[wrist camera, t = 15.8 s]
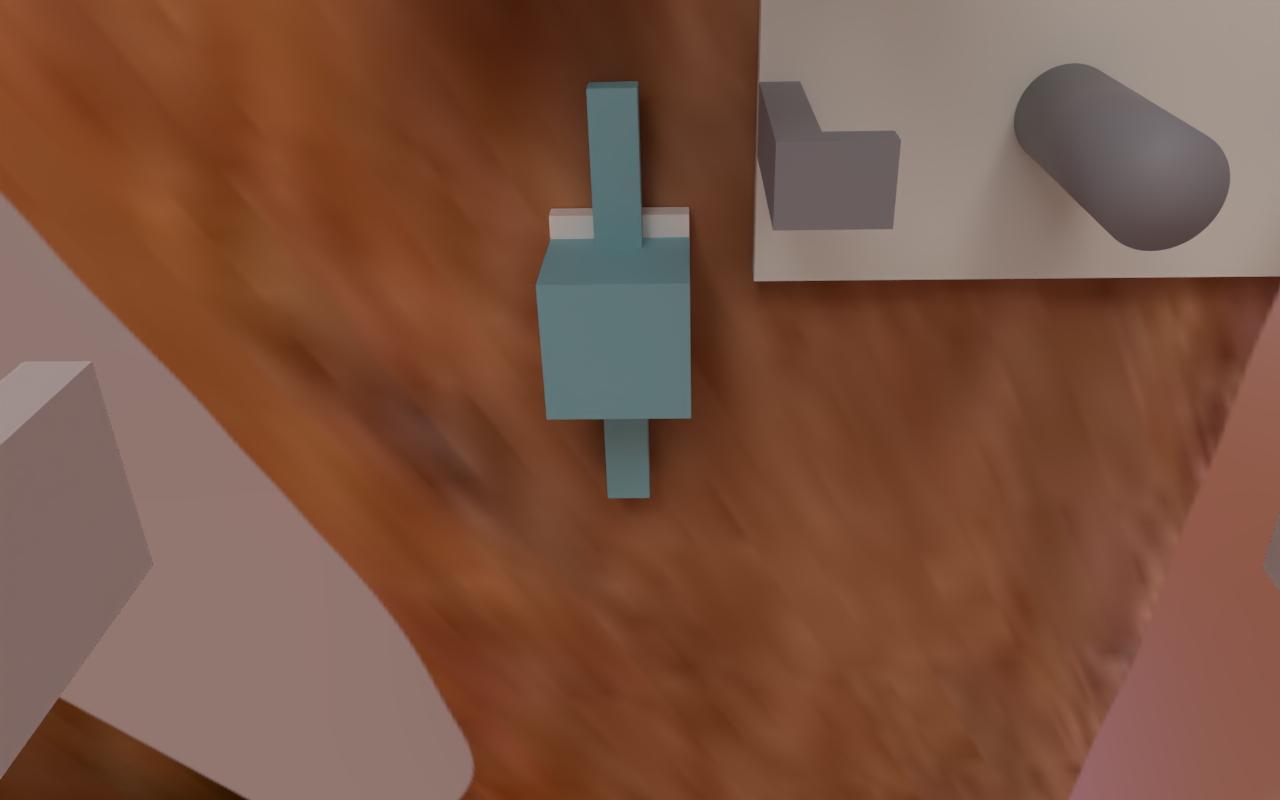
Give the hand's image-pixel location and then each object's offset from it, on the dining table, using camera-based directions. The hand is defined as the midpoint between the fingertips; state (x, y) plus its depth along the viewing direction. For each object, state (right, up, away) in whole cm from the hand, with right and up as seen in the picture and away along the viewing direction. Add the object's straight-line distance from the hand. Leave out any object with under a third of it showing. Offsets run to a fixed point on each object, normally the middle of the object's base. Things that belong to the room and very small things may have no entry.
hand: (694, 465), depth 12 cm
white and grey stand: (+16, +13, +32) cm, 38 cm away
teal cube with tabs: (-1, +5, +36) cm, 36 cm away
